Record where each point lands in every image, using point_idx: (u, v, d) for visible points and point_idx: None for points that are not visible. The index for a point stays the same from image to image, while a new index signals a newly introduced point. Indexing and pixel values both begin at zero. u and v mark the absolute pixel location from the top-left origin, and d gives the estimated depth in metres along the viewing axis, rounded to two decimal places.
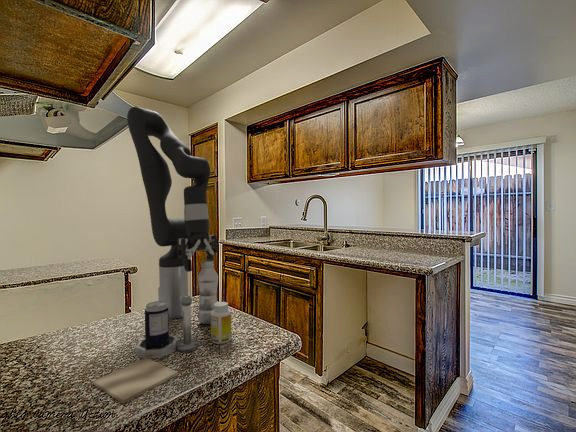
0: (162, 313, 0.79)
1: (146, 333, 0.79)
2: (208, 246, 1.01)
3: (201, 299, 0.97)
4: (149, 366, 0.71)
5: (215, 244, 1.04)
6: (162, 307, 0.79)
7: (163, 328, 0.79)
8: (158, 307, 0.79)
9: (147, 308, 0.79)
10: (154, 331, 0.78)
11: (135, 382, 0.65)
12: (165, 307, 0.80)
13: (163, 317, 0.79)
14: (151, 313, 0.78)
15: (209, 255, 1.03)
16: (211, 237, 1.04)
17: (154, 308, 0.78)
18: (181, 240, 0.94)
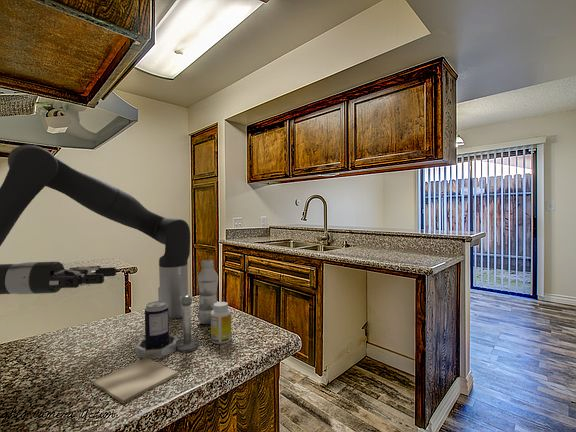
0: (162, 313, 0.79)
1: (146, 333, 0.79)
2: None
3: (201, 299, 0.97)
4: (149, 366, 0.71)
5: None
6: (162, 307, 0.79)
7: (163, 328, 0.79)
8: (158, 307, 0.79)
9: (147, 308, 0.79)
10: (154, 331, 0.78)
11: (135, 382, 0.65)
12: (165, 307, 0.80)
13: (163, 317, 0.79)
14: (151, 313, 0.78)
15: None
16: None
17: (154, 308, 0.78)
18: None
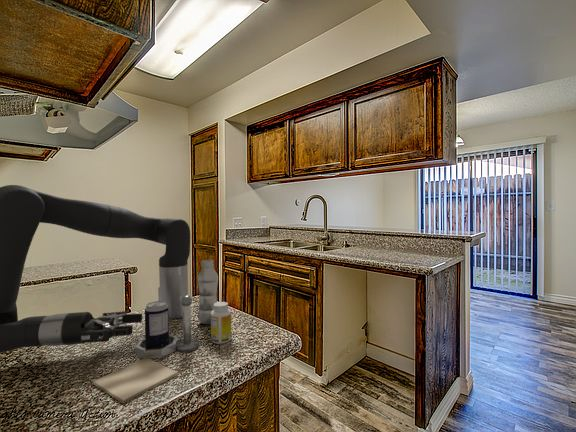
0: (162, 313, 0.79)
1: (146, 333, 0.79)
2: None
3: (201, 299, 0.97)
4: (149, 366, 0.71)
5: None
6: (162, 307, 0.80)
7: (163, 328, 0.79)
8: (158, 307, 0.79)
9: (147, 308, 0.79)
10: (154, 331, 0.78)
11: (135, 382, 0.65)
12: (165, 307, 0.80)
13: (163, 317, 0.79)
14: (151, 313, 0.78)
15: None
16: None
17: (154, 308, 0.78)
18: None
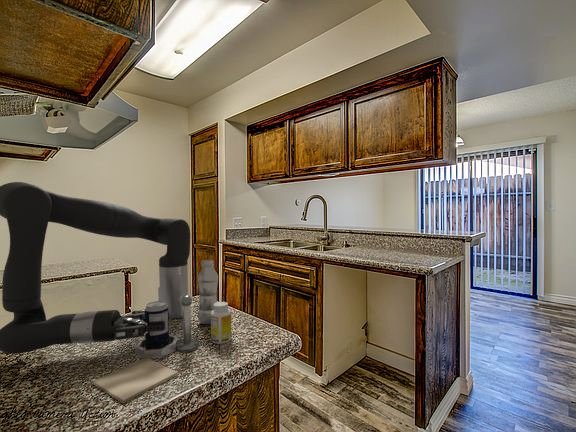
0: (162, 313, 0.79)
1: (146, 333, 0.79)
2: None
3: (201, 299, 0.97)
4: (149, 366, 0.71)
5: None
6: (162, 307, 0.79)
7: None
8: (158, 307, 0.79)
9: (147, 308, 0.79)
10: (154, 331, 0.78)
11: (135, 382, 0.65)
12: (165, 307, 0.80)
13: (163, 317, 0.79)
14: (151, 313, 0.78)
15: None
16: None
17: (154, 308, 0.78)
18: None
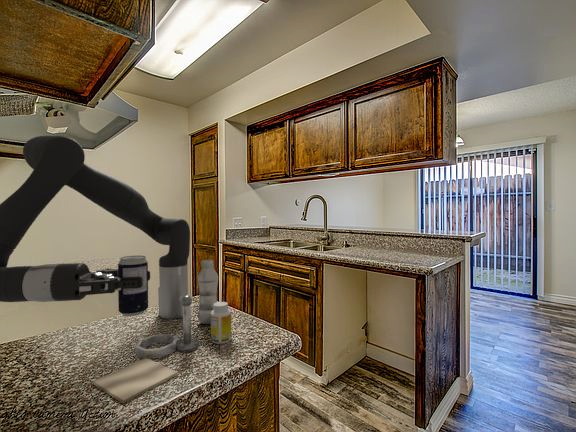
0: (139, 268, 0.65)
1: (119, 292, 0.64)
2: None
3: (201, 299, 0.97)
4: (149, 366, 0.71)
5: None
6: (139, 260, 0.65)
7: None
8: (134, 260, 0.64)
9: (121, 261, 0.64)
10: (129, 289, 0.64)
11: (135, 382, 0.65)
12: (143, 261, 0.66)
13: (141, 272, 0.65)
14: (125, 267, 0.63)
15: None
16: None
17: (129, 261, 0.64)
18: None
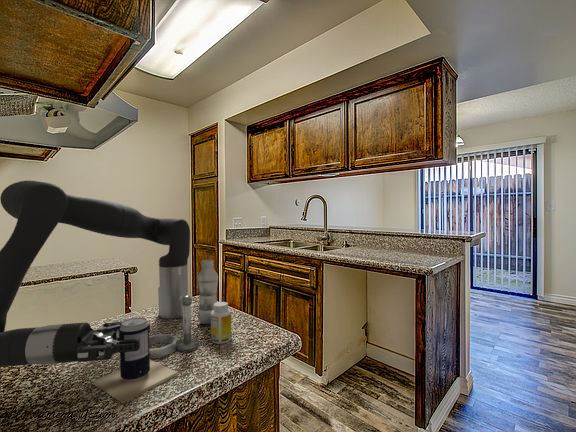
0: (141, 333, 0.65)
1: (121, 357, 0.65)
2: None
3: (201, 299, 0.97)
4: None
5: None
6: (140, 326, 0.65)
7: (142, 351, 0.65)
8: (135, 326, 0.65)
9: (122, 327, 0.65)
10: (131, 355, 0.64)
11: (135, 382, 0.65)
12: (144, 325, 0.66)
13: (142, 338, 0.65)
14: (126, 334, 0.64)
15: None
16: None
17: (130, 327, 0.64)
18: None
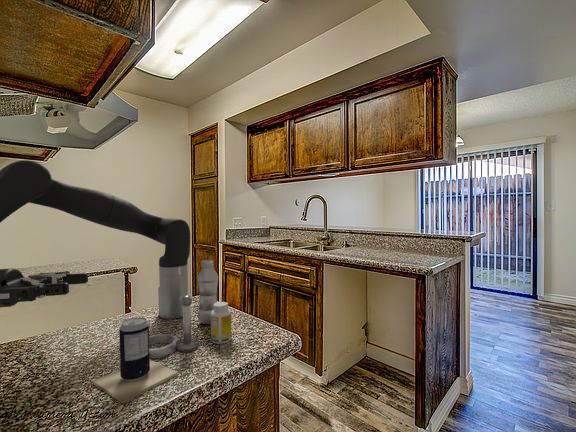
0: (140, 333, 0.65)
1: (121, 357, 0.65)
2: None
3: (201, 299, 0.97)
4: None
5: None
6: (140, 325, 0.65)
7: (141, 351, 0.65)
8: (135, 326, 0.65)
9: (122, 327, 0.65)
10: (131, 355, 0.64)
11: (135, 382, 0.65)
12: (144, 325, 0.66)
13: (142, 337, 0.65)
14: (126, 334, 0.64)
15: None
16: None
17: (130, 327, 0.64)
18: None
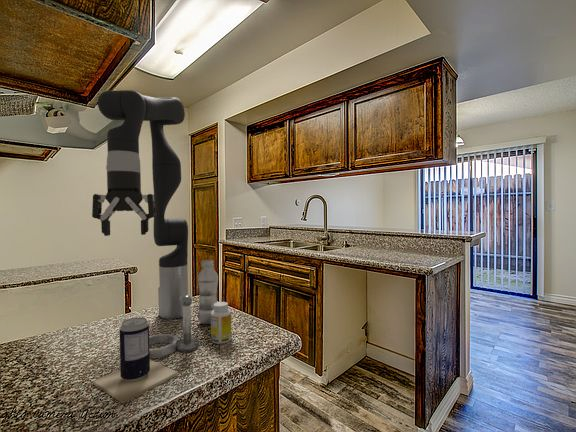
0: (141, 333, 0.65)
1: (121, 357, 0.65)
2: (134, 207, 0.78)
3: (201, 299, 0.97)
4: None
5: (149, 206, 0.79)
6: (141, 326, 0.65)
7: (142, 351, 0.65)
8: (135, 326, 0.65)
9: (122, 327, 0.65)
10: (131, 355, 0.64)
11: (135, 382, 0.65)
12: (145, 325, 0.66)
13: (142, 337, 0.65)
14: (126, 334, 0.64)
15: None
16: (146, 196, 0.79)
17: (130, 327, 0.64)
18: None
